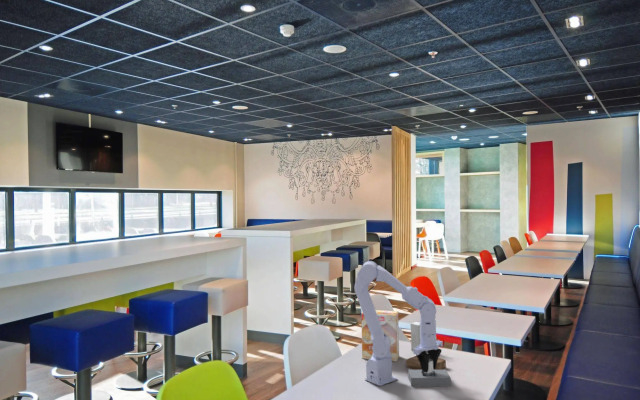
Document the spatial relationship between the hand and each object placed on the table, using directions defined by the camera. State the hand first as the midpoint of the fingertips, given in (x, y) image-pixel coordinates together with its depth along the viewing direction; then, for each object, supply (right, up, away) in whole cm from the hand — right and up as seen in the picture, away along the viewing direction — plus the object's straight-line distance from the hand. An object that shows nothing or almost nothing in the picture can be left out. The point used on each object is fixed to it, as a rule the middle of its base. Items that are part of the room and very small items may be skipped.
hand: (428, 369), depth 171 cm
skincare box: (+4, -4, +35) cm, 36 cm away
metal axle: (0, -4, 0) cm, 4 cm away
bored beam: (0, -4, 0) cm, 4 cm away
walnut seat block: (+2, -4, +15) cm, 16 cm away
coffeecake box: (-14, -5, +27) cm, 31 cm away
